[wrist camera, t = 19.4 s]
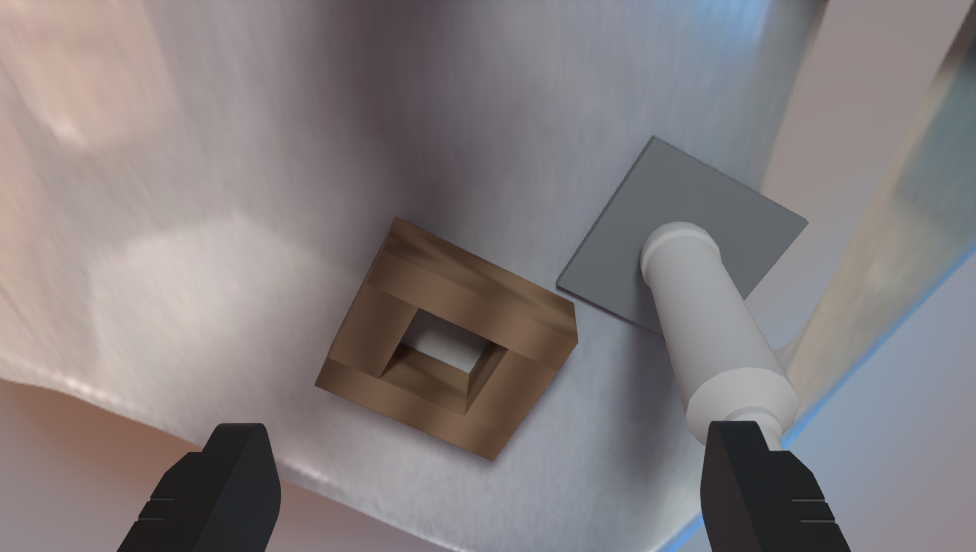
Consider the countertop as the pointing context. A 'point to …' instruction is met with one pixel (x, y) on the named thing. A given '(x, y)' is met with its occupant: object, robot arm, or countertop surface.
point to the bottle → (713, 337)
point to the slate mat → (665, 199)
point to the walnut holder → (469, 304)
